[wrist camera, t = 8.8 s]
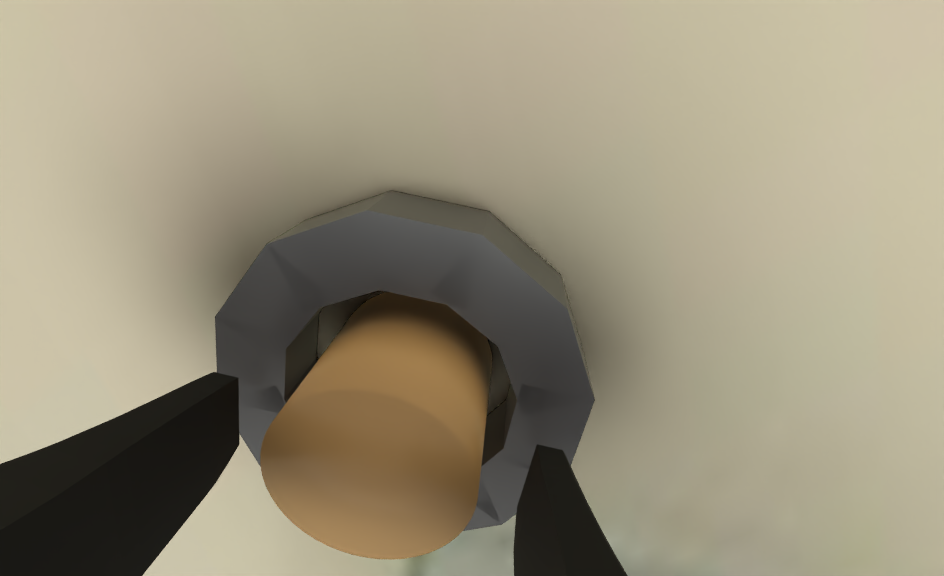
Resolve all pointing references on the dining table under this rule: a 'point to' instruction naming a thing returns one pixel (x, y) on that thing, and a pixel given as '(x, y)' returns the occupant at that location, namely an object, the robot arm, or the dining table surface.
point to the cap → (385, 432)
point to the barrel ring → (424, 277)
